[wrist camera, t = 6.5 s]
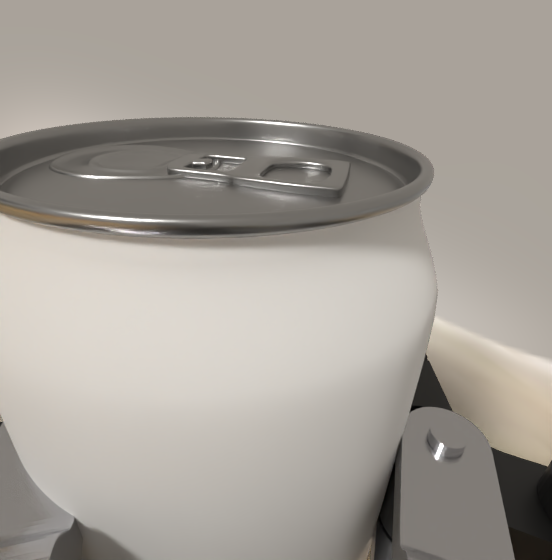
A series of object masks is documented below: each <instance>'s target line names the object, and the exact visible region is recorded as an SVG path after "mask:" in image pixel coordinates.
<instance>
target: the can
mask: <svg viewBox="0 0 552 560" xmlns="http://www.w3.org/2000/svg"><path fill="white" fill-rule="evenodd" d="M433 177H434V168H433V166H432V164H431V162H430V161H429V159H428V158H427V157H426V156H424V155H423V154H422V153H420V152H419V151H417V150H415V149H413V148H411V147H409V146H407V145H404V144H402V143H399V142H396V141H394V140H391V139H387V138H384V137H380V136H376V135H373V134H368V133H364V132H359V131H354V130H348V129H343V128H337V127H331V126H324V125H316V124H307V123H299V122H289V121H278V120H263V119H246V118H214V117H212V118H211V117H178V118H177V117H175V118H144V119H126V120H112V121H101V122H90V123H82V124H73V125H66V126H59V127H53V128H47V129H41V130H36V131H31V132H26V133H22V134H17V135H13V136H10V137H6V138H3V139H0V415H1V418H2V420H3V422H4V424H5V427H6V429H7V431H8V433H9V436H10V438H11V440H12V442H13V445H14V447H15V449H16V451H17V454H18V456H19V458H20V460H21V462H22V464H23V466H24V468H25V470H26V471H27V473H28V474H29V476H30V477H31V479H32V480H33V481H34V482H35V484H36V485H37V486H38V487H39V488H40V489H41V491H42V492H43V493H44V494H45V495H46V496H48V497H49V498H50V499H51V500H52V501H53V502H54V503H56V504H57V505H58V506H59V507H61V508H62V509H63V510H65V511H66V512H68V513H69V514H71V515H73V516H74V517H75V519H76V521H77V524H78V527H79V529H80V532H81V535H82V537H83V543H82V560H367V557H368V553H369V550H370V547H371V543H372V535H373V531H374V528H375V525H376V521H377V519H378V516H379V513H380V510H381V506H382V503H383V500H384V496H385V493H386V489H387V486H388V482H389V479H390V476H391V472H392V469H393V465H394V462H395V458H396V454H397V451H398V448H399V444H400V441H401V437H402V434H403V432H404V429H405V426H406V423H407V419H408V416H409V412H410V409H411V405H412V401H413V398H414V394H415V391H416V387H417V383H418V380H419V376H420V373H421V369H422V366H423V362H424V358H425V354H426V350H427V346H428V342H429V338H430V334H431V330H432V326H433V322H434V316H435V309H436V302H437V293H438V292H437V291H438V289H437V279H436V272H435V267H434V263H433V258H432V255H431V250H430V247H429V243H428V240H427V236H426V233H425V229H424V225H423V221H422V217H421V211H420V201H421V195H422V194H424V193H425V192H426V190H427V189H428V188H429V186H430V185H431V183H432V180H433Z"/></svg>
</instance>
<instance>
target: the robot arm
mask: <svg viewBox="0 0 552 560" xmlns="http://www.w3.org/2000/svg"><path fill="white" fill-rule="evenodd" d="M82 543H83V537H82V535H81V532H80V529H79V527H78V524H77V521H76V519H75V517H74V516H73V515H71V514H69V513H68V512H66V511H65V510H63V509H62V508H61V507H59V506H58V505H57V504H56V503H54V502H53V501H52V500H51V499H50V498H49V497H48V496H46V495H45V494H44V493H43V492H42V491H41V489H40V488H39V487H38V486H37V485H36V484H35V482H34V481H33V480H32V479H31V477H30V476H29V474H28V473H27V471H26V470H25V468H24V466H23V464H22V462H21V460H20V458H19V456H18V454H17V451H16V449H15V447H14V445H13V442H12V440H11V438H10V436H9V433H8V431H7V429H6V427H5V424H4V422H0V560H82ZM370 560H552V461H551V462H550V464H549V465H548V467H547V466H544V465H541V464H538V463H535V462H532V461H529V460H525V459H522V458H519V457H516V456H513V455H510V454H507V453H504V452H501V451H499V450H496V449H494V448H492V447H490V445H489V443H488V441H487V439H486V438H485V436H484V435H483V433H482V432H481V431H480V430H479V429H478V428H477V427H476V426H475V425H474V424H472V423H471V422H470V421H468V420H467V419H466V418H464V417H462V416H460V415H459V414H457V413H454V412H453V411H452V409H451V407H450V405H449V403H448V400H447V398H446V396H445V394H444V392H443V390H442V388H441V385H440V383H439V381H438V379H437V377H436V375H435V373H434V371H433V368H432V366H431V364H430V362H429V361H427V356H426V354H425V358H424V362H423V366H422V369H421V373H420V376H419V380H418V383H417V387H416V391H415V394H414V398H413V401H412V405H411V409H410V412H409V416H408V419H407V423H406V426H405V429H404V432H403V434H402V437H401V441H400V444H399V448H398V451H397V454H396V458H395V462H394V465H393V469H392V472H391V476H390V479H389V482H388V486H387V489H386V493H385V496H384V500H383V503H382V506H381V510H380V513H379V516H378V519H377V521H376V525H375V528H374V531H373V535H372V543H371V555H370Z"/></svg>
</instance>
